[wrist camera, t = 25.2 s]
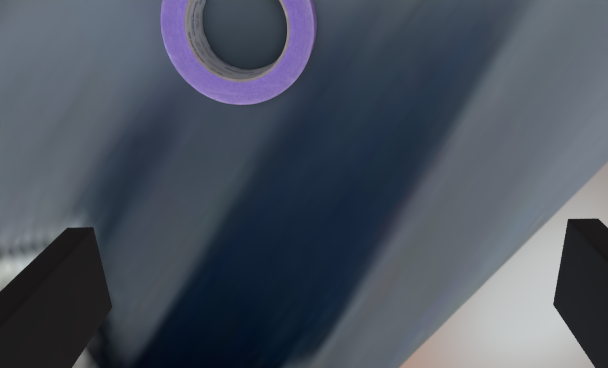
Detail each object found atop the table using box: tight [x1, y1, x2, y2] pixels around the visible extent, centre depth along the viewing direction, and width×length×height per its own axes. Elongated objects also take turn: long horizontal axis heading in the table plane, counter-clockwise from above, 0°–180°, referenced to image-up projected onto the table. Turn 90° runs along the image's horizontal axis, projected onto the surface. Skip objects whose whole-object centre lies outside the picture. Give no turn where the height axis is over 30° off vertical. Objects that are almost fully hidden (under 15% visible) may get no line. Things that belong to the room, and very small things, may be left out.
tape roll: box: [161, 0, 317, 105], centre depth 40 cm, size 12×12×5 cm
